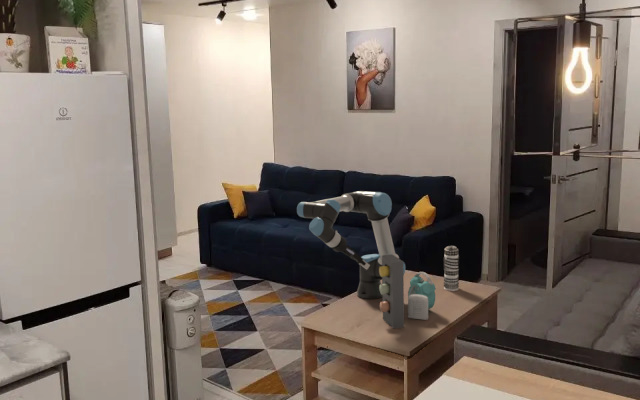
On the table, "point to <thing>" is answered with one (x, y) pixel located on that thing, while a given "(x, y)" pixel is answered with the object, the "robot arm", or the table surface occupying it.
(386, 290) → the sage button
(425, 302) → the photo printer
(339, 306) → the table surface
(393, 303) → the button panel
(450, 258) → the leaning tower model
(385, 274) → the mustard button
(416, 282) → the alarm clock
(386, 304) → the terracotta button
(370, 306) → the table surface
